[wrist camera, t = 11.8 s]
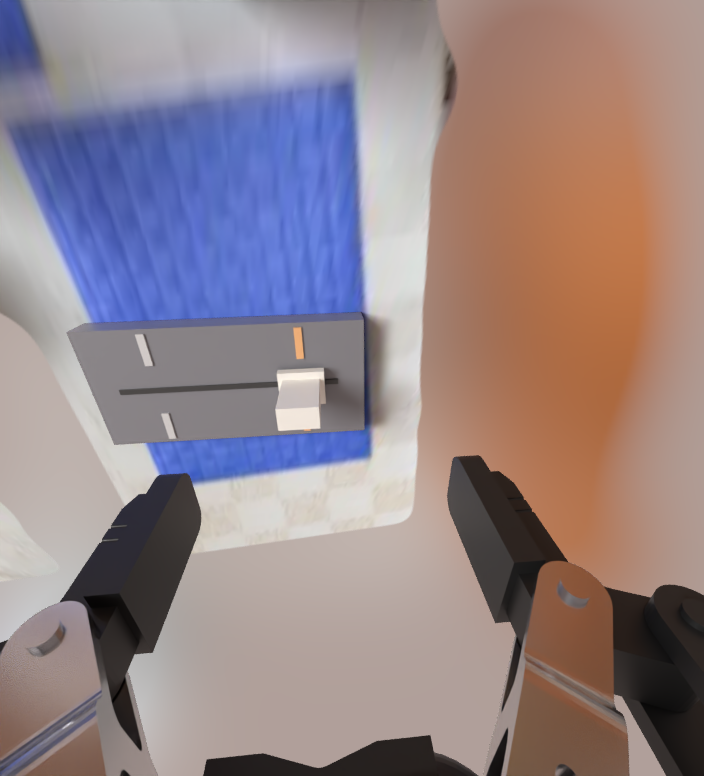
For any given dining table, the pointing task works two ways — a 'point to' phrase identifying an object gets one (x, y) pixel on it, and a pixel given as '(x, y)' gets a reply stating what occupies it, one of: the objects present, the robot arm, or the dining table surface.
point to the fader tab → (300, 398)
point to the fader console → (218, 373)
